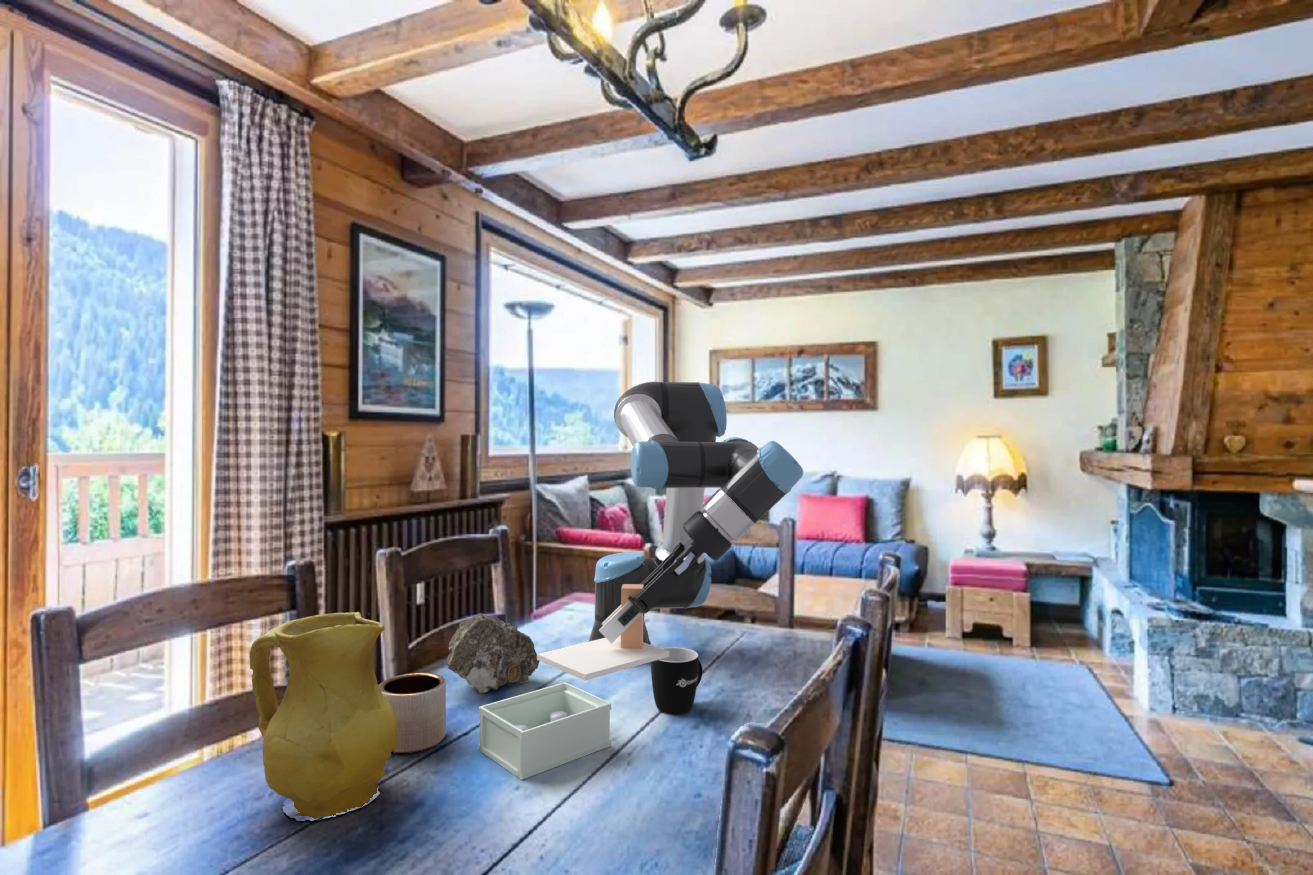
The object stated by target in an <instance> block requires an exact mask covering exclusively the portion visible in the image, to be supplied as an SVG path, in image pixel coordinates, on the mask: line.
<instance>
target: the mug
mask: <svg viewBox="0 0 1313 875" xmlns="http://www.w3.org/2000/svg"><path fill="white" fill-rule="evenodd" d="M660 648H661V649H664V650H667V651H669V657H666V658H662V659H659V660H655V661H652V662H650V673H651V674H650V675H651V684H652V693H653V699H654V703H655V706H656V709H658V711H660V712H661V713H664V714H668V715H682V714H686V713H689V711H690V710H692V708H693V705H694V703H695V698H696V693H697V688H698V687H699V685H700V683H701V680H702V678H703V666H702V663H701V661H700V660H699V657H700V656H699V653H697V652H696V651H695V650H693V649H690V648H687V647H686V648H685V647H679V646H678V647H676V646H674V647H673V646H669V647H660Z"/></svg>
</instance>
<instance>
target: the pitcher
mask: <svg viewBox="0 0 1313 875" xmlns="http://www.w3.org/2000/svg"><path fill="white" fill-rule="evenodd" d="M384 631H385V625H384V624H383V623H381V622H379V621H376V620H371V619H366V618H363V617H362V615H361V612H359V611H357V612H353V611H351V612H334V613H333V612H331V613H324V614H323V613H322V614H315V615H312V616H306V617H302V618H301V617H300V618H297V619H293V620H289V621H287V622H285V623H283V624H280V625H278V627H273V628H272V629H270V630H268V631H267V632H266V633H264V634H262V635H261V636H259V637H258V638H257V639H255V640H254V641H253V642H252V644H251V646H250V650H249V655H248V656H249V657H248V658H249V669H250V670H252V674H251V676H250V677H251V686H252V687H251V688H252V694H253V696H255V708H256V710H257V712H258V713H259V714H258V730H259V732H260V733H261V735H262V738H263V740H262V763H263V764H262V765H263V768H264V777H265V782H266V784H267V786H268V787H269V788H270V789H271V790H272V791H274V792H275V793H276V794H277V795H278V796H281V797H284V798H285V799H286V798H289V799H291V800H292V801H293V802H294V807H295V808H296V809H297V810H298V812H300V813H298V814H296V815H295V816H309V817H312V818H314V819H316V818H319V817H322V816H323V817H324V816H332V815H333V816H334V815H336V813H341V812H347V809H349V810H350V809H351V808H355V807H362V806H363V805H364V804H365V803H368V802H369V801H370V798H372V797H373V795H374V794H376V793H377V788H378V784H377V783H378V782H379V781H380V780H381V779H382V778H383V777H384V776H385V775H386V774H387V773H386V771H385V770H384V769H385V766H386V764H387V761H389V760H390V757H391V755H392V753H391V752H394V750H395V748H396V745H397V743H398V723H397V720H396V716H395V714H394V711H393V708H392V707H391V705H390V704H389V702H388V701H387V699H386V698H385V697H384V695H383V693H382V691H381V689H380V687H379V684H378V681H377V676H376V673H375V668H374V657H373V656H374V646H375V643H376V641H377V639H378V637H379V636H380V635H381V634H382V633H383V632H384ZM271 647H275V648H279V649H280V650H281V652H282V653H283V655H284V656H285V658H286V660H287V664H288V668H289V669H288V670H289V671H288V672H289V673H288V679H287V682H286V683H287V684H286V688H285V692H284V695H283V698H282V700H281V702H280V704H279V702H278V701H279V700H278V698H277V693H276V689H275V685H274V679H273V675H272V672H271V671H272V670H271V664H270V663H271V662H270V660H271V659H270V657H271V656H270V655H271ZM376 782H377V783H376Z"/></svg>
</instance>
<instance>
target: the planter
mask: <svg viewBox="0 0 1313 875" xmlns="http://www.w3.org/2000/svg"><path fill="white" fill-rule="evenodd" d="M378 686H379V687H380V689H381V691H382V693H383V695H384V697H385V698H386V699H387V701H388V702H389V704H390V705H391V707H392V708H393V711H394V714H395V716H396V720H397V723H398V743H397V745H396V748H395V750H394V752H395V753H394V754H397V753H408V754H411V753H410V752H415V753H418V752H417V751H420V752H422V751H421V750H424V751H426V750H425V749H427V750H429V749H431V748H433V747H435V746H437V745H438V744H440V742H442V741H443V740H444V739H445V737H446V733H447V701H446V700H447V699H446V698H447V688H446V687H447V680H446V678H445V677H444V676H442V675H440V674H436V673H431V672H410V673H403V674H399V675H395V676H392V677H389V678H387V679H385V680H383V681H381V683H379V684H378ZM436 744H437V745H436ZM428 748H429V749H428Z"/></svg>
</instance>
